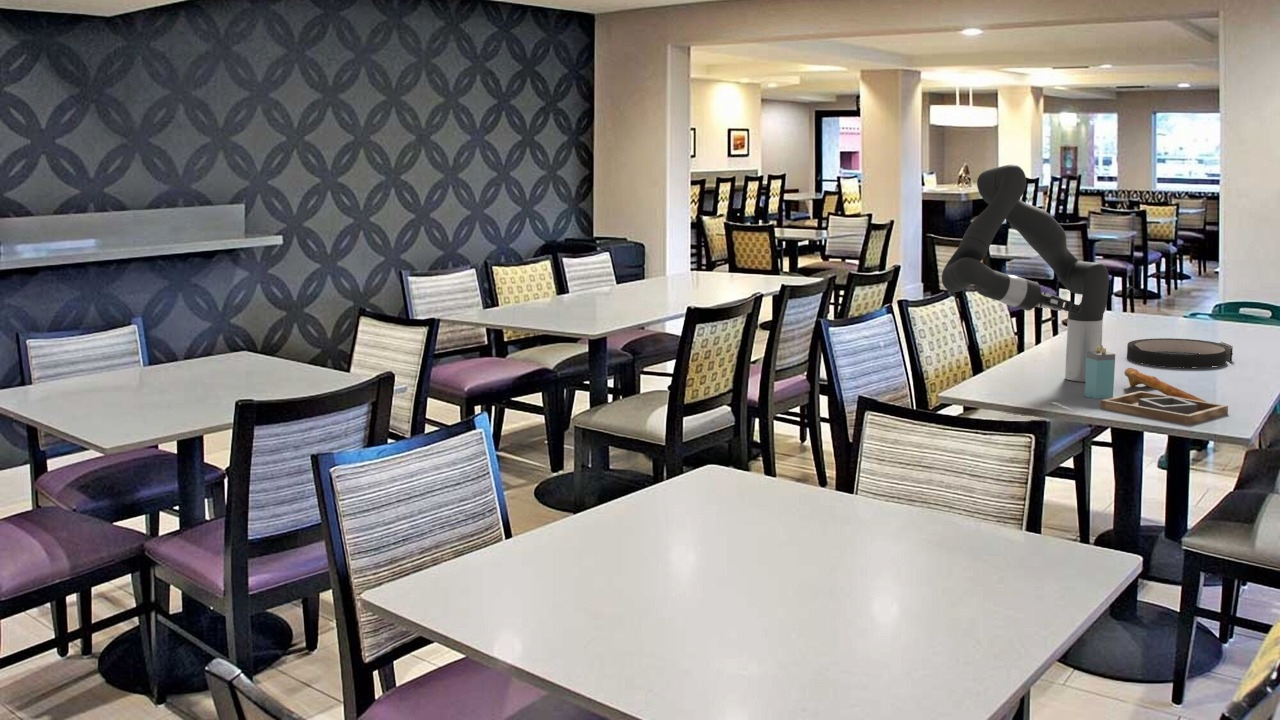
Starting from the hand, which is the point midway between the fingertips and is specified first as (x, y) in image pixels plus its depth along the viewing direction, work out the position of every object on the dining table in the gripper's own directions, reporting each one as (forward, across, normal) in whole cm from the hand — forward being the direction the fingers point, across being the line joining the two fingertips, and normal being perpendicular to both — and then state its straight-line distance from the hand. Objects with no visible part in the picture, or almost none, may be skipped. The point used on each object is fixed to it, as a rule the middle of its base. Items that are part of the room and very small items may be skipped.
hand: (1071, 308), depth 295 cm
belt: (+67, +40, +3) cm, 78 cm away
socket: (+20, -21, +18) cm, 35 cm away
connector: (+16, 0, +20) cm, 25 cm away
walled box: (+20, -20, +19) cm, 34 cm away
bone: (+30, -5, +16) cm, 35 cm away
